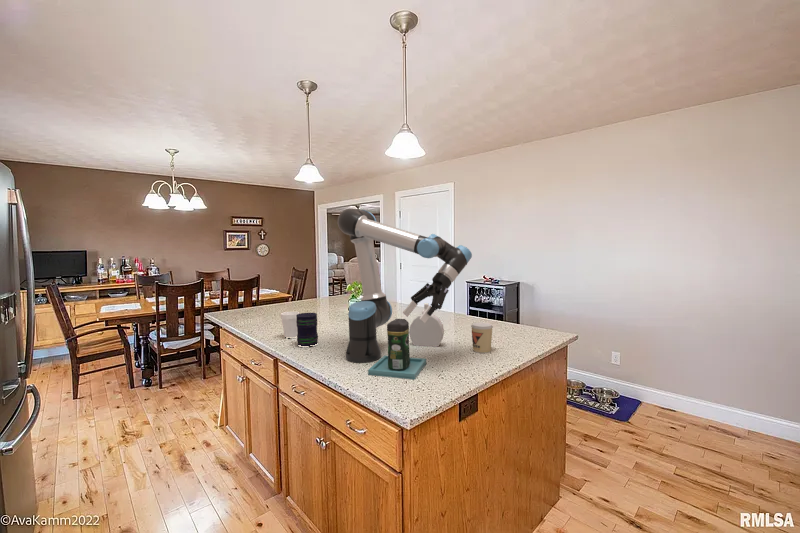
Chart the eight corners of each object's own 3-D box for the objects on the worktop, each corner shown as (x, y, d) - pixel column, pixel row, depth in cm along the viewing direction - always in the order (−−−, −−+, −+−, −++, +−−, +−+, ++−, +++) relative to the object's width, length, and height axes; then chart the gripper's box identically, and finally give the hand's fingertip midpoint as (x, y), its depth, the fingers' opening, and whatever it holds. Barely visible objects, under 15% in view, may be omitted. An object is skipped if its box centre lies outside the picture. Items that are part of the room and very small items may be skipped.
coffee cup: (467, 349, 169) (467, 323, 168) (484, 346, 172) (484, 321, 172) (479, 354, 160) (479, 327, 159) (496, 352, 164) (497, 325, 163)
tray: (368, 374, 139) (368, 369, 139) (384, 359, 156) (384, 355, 156) (414, 379, 133) (414, 374, 133) (426, 363, 150) (426, 358, 150)
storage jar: (292, 345, 179) (291, 315, 178) (308, 341, 187) (307, 311, 186) (306, 349, 174) (305, 317, 173) (322, 343, 182) (321, 313, 181)
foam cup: (278, 339, 191) (277, 314, 190) (286, 335, 200) (285, 311, 199) (295, 340, 190) (294, 315, 189) (303, 335, 199) (302, 311, 198)
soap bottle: (409, 345, 177) (408, 303, 175) (411, 342, 182) (411, 302, 180) (442, 347, 172) (442, 304, 171) (444, 344, 178) (443, 303, 176)
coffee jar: (392, 362, 150) (392, 316, 149) (411, 363, 148) (411, 317, 147) (385, 370, 141) (384, 322, 140) (405, 372, 139) (404, 323, 137)
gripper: (468, 286, 143) (436, 330, 137) (433, 280, 165) (404, 317, 159) (457, 273, 140) (423, 317, 134) (423, 269, 162) (393, 306, 156)
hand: (413, 317), depth 147 cm, fingers open, 13 cm apart
